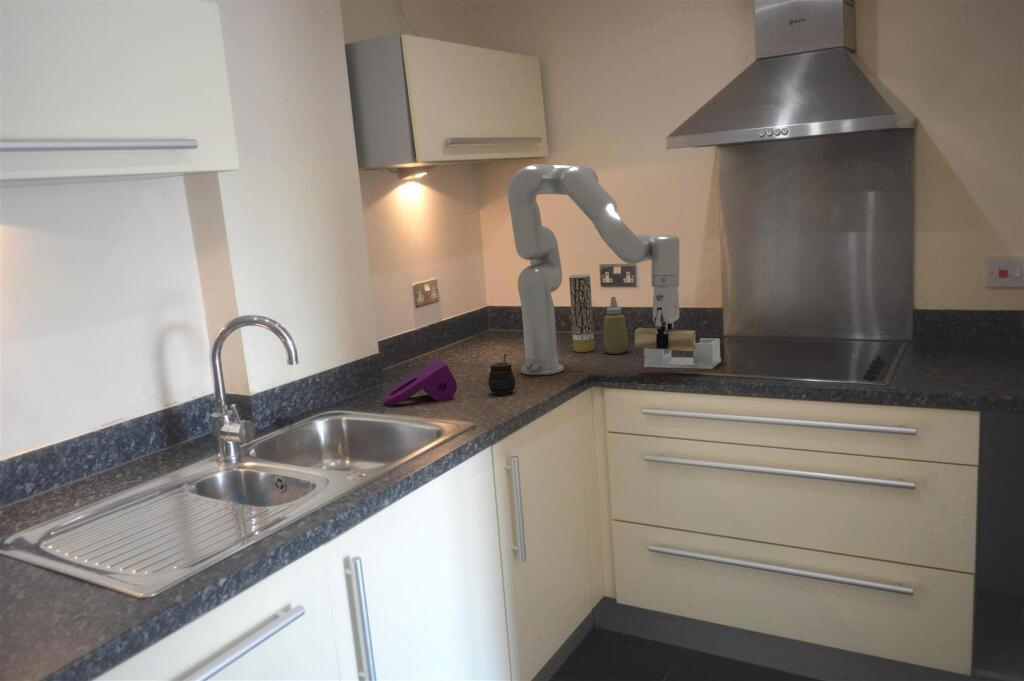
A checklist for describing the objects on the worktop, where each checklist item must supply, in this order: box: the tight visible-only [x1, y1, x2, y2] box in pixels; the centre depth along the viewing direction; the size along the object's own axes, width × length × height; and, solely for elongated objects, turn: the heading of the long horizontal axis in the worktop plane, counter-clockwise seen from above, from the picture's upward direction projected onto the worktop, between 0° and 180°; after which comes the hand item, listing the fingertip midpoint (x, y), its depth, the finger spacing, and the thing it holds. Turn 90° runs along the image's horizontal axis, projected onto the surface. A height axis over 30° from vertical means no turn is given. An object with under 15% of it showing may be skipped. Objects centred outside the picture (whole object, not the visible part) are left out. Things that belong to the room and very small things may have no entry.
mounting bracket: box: [384, 358, 458, 407], centre depth 225 cm, size 10×8×18 cm
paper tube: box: [568, 273, 595, 353], centre depth 276 cm, size 7×7×25 cm
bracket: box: [643, 337, 722, 370], centre depth 245 cm, size 10×20×7 cm, turn 63°
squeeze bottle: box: [602, 296, 629, 355], centre depth 269 cm, size 8×8×18 cm
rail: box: [634, 327, 696, 352], centre depth 234 cm, size 4×16×5 cm, turn 65°
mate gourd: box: [487, 353, 517, 396], centre depth 225 cm, size 7×8×10 cm
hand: (665, 345), depth 234 cm, fingers closed on rail, 4 cm apart
